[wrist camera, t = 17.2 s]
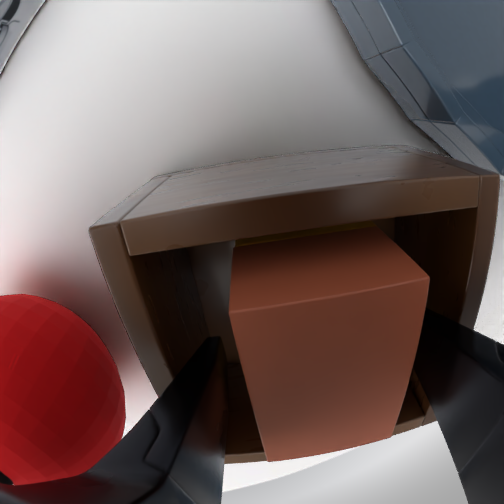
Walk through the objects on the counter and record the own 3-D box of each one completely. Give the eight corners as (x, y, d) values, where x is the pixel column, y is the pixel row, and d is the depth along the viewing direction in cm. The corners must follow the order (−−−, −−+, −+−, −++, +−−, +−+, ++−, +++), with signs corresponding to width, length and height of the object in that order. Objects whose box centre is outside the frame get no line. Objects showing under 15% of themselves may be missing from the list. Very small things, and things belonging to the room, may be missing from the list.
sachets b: (376, 225, 8) (430, 276, 5) (367, 375, 11) (391, 437, 8) (232, 246, 8) (227, 312, 6) (262, 394, 11) (267, 462, 8)
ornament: (159, 296, 13) (85, 524, 4) (136, 409, 16) (102, 554, 7) (0, 234, 12) (-137, 355, 2) (13, 357, 15) (-53, 471, 6)
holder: (403, 144, 11) (501, 174, 6) (393, 338, 15) (437, 420, 9) (153, 176, 11) (85, 228, 6) (207, 369, 15) (198, 465, 10)
